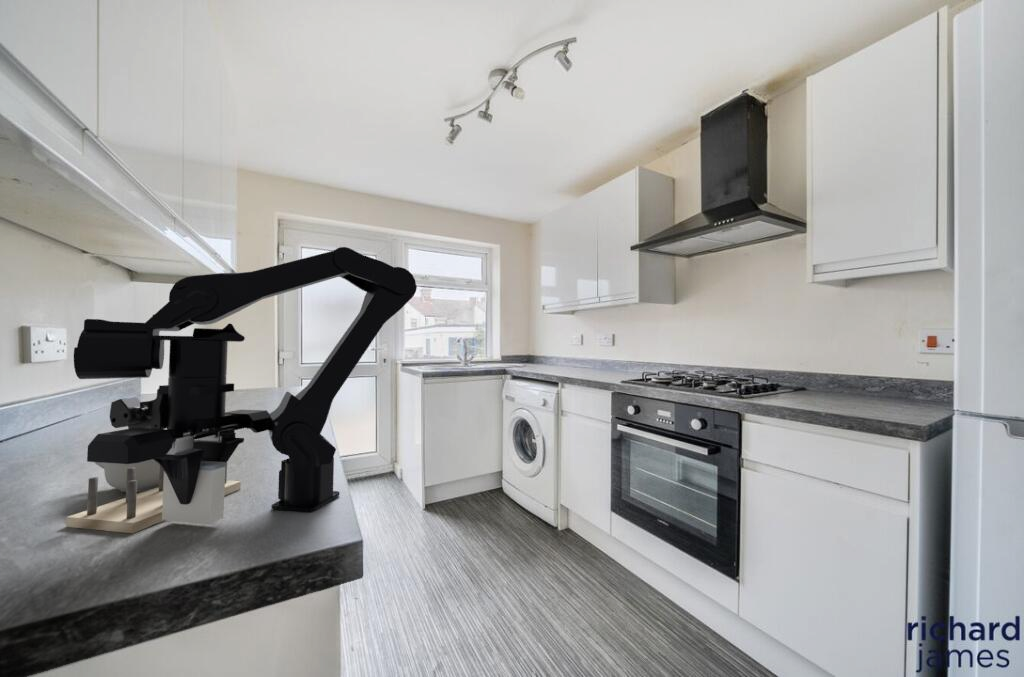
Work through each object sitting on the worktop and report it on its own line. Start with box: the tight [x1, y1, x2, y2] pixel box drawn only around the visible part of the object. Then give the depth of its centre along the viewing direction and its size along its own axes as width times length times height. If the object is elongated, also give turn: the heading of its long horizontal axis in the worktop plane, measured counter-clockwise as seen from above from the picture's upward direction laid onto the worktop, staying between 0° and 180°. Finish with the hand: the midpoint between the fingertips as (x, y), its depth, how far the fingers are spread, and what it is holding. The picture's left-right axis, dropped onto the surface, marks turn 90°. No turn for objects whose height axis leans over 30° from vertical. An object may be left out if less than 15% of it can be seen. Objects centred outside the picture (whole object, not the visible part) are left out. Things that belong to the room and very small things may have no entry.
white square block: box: [162, 461, 226, 525], centre depth 48 cm, size 7×2×7 cm, turn 81°
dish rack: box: [65, 462, 242, 534], centre depth 54 cm, size 10×15×6 cm, turn 171°
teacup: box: [93, 433, 189, 494], centre depth 62 cm, size 14×11×8 cm
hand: (193, 500), depth 48 cm, fingers closed on white square block, 2 cm apart
